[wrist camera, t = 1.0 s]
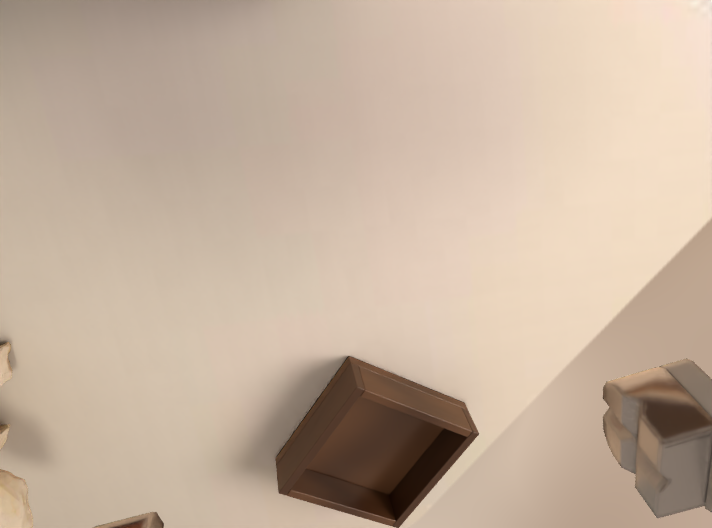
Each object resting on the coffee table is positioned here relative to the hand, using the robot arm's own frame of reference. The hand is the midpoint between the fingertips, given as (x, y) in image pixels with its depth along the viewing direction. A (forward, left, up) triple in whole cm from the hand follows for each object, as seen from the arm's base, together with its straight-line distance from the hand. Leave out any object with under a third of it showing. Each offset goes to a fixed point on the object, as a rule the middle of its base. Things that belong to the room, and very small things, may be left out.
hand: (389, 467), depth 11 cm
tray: (+13, -13, -19) cm, 27 cm away
